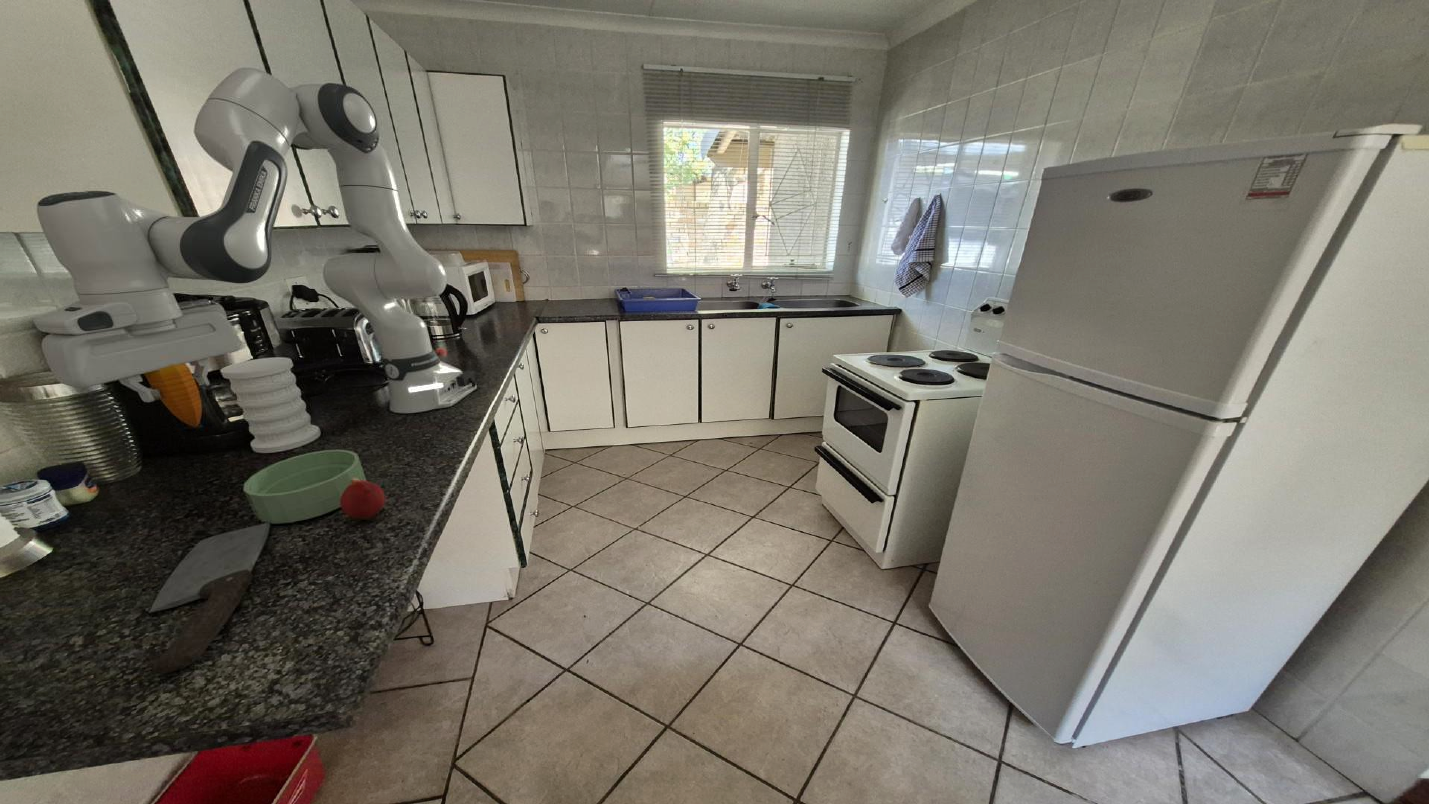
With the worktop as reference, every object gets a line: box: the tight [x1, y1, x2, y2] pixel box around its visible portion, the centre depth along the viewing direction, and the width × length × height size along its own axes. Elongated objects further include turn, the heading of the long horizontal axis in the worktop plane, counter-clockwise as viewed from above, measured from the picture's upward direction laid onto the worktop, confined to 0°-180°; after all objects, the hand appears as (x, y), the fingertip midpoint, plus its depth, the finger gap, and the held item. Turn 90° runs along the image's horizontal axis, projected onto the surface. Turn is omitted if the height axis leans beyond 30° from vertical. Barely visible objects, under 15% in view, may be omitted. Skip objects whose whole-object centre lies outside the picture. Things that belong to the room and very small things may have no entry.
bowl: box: [242, 449, 367, 525], centre depth 79 cm, size 15×15×6 cm
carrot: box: [143, 363, 203, 428], centre depth 73 cm, size 5×5×15 cm
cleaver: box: [148, 522, 271, 676], centre depth 60 cm, size 29×10×2 cm, turn 34°
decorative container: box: [219, 356, 321, 454], centre depth 97 cm, size 12×12×18 cm
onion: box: [340, 478, 387, 521], centre depth 74 cm, size 6×6×8 cm
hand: (178, 393), depth 73 cm, fingers closed on carrot, 5 cm apart
